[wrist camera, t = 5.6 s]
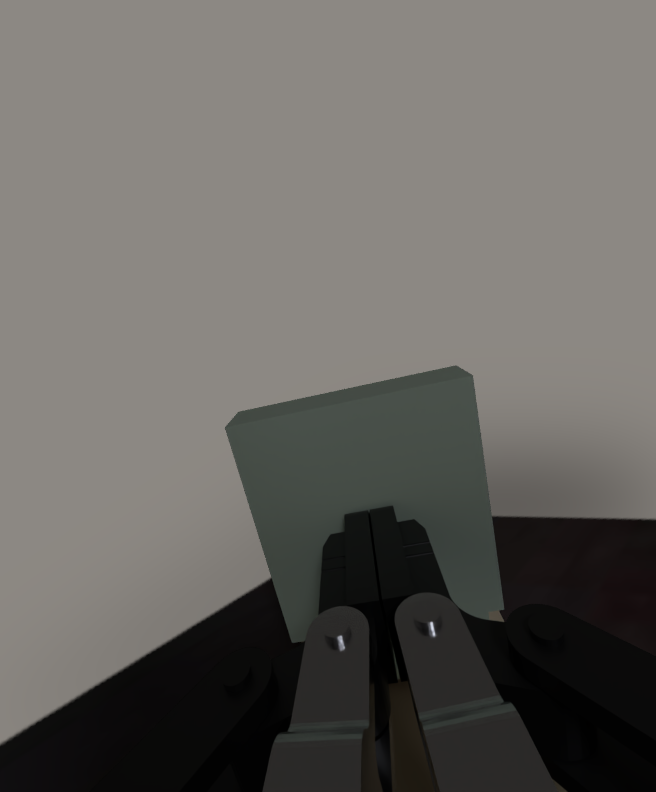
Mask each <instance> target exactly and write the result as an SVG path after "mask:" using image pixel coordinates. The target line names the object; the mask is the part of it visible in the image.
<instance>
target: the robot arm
mask: <svg viewBox="0 0 656 792" xmlns="http://www.w3.org/2000/svg"><path fill="white" fill-rule="evenodd" d="M370 516H371V521H370ZM370 516H369V512H368V510H365V511H359V512H354V513H349V514H345V515H344V519H345V532H340V533H334V534H330V536H329V537H328V539H327V541H326V542H325V544H324V545H323V552H322V567H321V572H322V573H321V581H320V596H319V611H318V616H317V617H316V618H315V619H314V620H313V622H312V623H311V625H310V626H309V628H308V631H307V635H306V640H305V641H304V642H303V643H301V644H300V645H299V646H297V647H296V648H294V649H292V650H290V651H288V652H286V653H284V654H282V655H280V656H278V657H276V658H274V659H271V660H270V657H269V656H268V654H267V653H266V652H265V651H263V650H262V649H260V648H256V647H247V648H242V649H239V650H236V651H234V652H232V653H230V654H229V655H227V656H226V657H225V658H223V659H222V660H221V661H220V662H219V663H218V664H217V665H216V666H215V667H214V668H213V669H212V670H211V671H210V672H209V673H208V674H207V675H206V676H205V677H204V678H203V679H202V680H201V681H200V682H199V683H198V684H197V685H196V686H195V687H194V688H193V689H192V690H191V691H190V692H189V693H188V694H187V695H186V696H185V697H184V698H183V699H182V700H181V701H180V702H179V703H178V704H177V705H176V706H175V707H174V708H173V709H172V710H171V711H170V712H169V713H168V714H167V715H166V716H165V717H164V718H163V719H162V720H161V721H160V722H159V723H158V724H157V725H156V726H155V727H154V728H153V729H152V730H151V731H150V732H149V733H148V734H147V735H146V736H145V737H144V738H143V739H142V740H141V741H140V742H139V743H138V744H137V745H136V746H135V747H134V748H133V749H132V750H131V751H130V752H129V753H128V754H127V755H126V756H125V757H124V758H123V759H122V760H121V761H120V762H119V763H118V764H117V765H116V766H115V767H114V768H113V769H112V770H111V771H110V772H109V773H108V774H107V775H106V776H105V777H104V778H103V779H102V780H101V781H100V782H99V783H98V784H97V785H96V786H95V787H94V788H93V789H92V790H91V791H90V792H396V779H395V760H394V742H393V724H392V718H391V701H390V693H389V685H388V684H391V683H398V678H397V671H396V665H395V658H396V662H397V667H398V671H399V675H400V680H401V682H404V681H408V684H409V689H410V693H411V698H412V702H413V707H414V711H415V716H416V720H417V724H418V728H419V732H420V736H421V740H422V744H423V748H424V752H425V756H426V760H427V764H428V768H429V772H430V776H431V780H432V784H433V788H434V792H558V790H557V788H556V786H555V784H554V782H553V780H554V781H555V782H557V783H558V784H559V785H560V786H561V787H563V788H564V789H565V790H566V791H567V792H656V656H654V655H652V654H650V653H648V652H646V651H644V650H642V649H640V648H638V647H636V646H634V645H632V644H630V643H627V642H625V641H623V640H621V639H619V638H617V637H615V636H613V635H611V634H609V633H607V632H605V631H603V630H601V629H599V628H597V627H595V626H593V625H591V624H589V623H587V622H585V621H583V620H581V619H579V618H577V617H575V616H573V615H571V614H569V613H567V612H565V611H563V610H560V609H558V608H555V607H552V606H548V605H543V604H529V605H524V606H521V607H519V608H517V609H515V610H514V611H513V612H512V613H511V614H510V615H509V617H508V619H507V622H501V621H493V620H486V619H481V618H478V617H475V616H472V615H470V614H468V613H466V612H465V611H463V610H462V609H460V608H459V607H458V606H457V605H456V604H455V603H454V602H453V600H452V599H451V597H450V595H449V592H448V589H447V587H446V584H445V581H444V578H443V576H442V573H441V570H440V568H439V565H438V562H437V559H436V557H435V554H434V551H433V548H432V546H431V543H430V540H429V538H428V535H427V532H426V529H425V528H424V527H423V526H422V525H421V524H419V523H418V522H417V521H416V520H415V519H411V520H406V521H400V522H397V519H396V515H395V511H394V507H393V505H392V506H386V507H381V508H375V509H370ZM371 523H372V525H371ZM393 649H394V652H393ZM394 654H395V658H394ZM552 779H553V780H552Z"/></svg>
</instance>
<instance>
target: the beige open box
mask: <svg viewBox="0 0 656 792" xmlns="http://www.w3.org/2000/svg"><path fill="white" fill-rule="evenodd" d="M488 613H489V620H493V621H501V622H504V620H503V618H502V616H501V614H500V612H499V610H498V611H492V612H488ZM303 642H304V641H302V643H303ZM388 685H389V693H390V701H391V718H392V724H393V742H394V760H395V779H396V792H434V788H433V784H432V780H431V776H430V772H429V768H428V764H427V760H426V756H425V752H424V748H423V744H422V740H421V736H420V732H419V728H418V724H417V720H416V716H415V711H414V707H413V702H412V698H411V693H410V689H409V684H408V681H404V682H401V680H400V679H398V683H391V684H388ZM552 780H553V779H552ZM553 782H554V784H555V786H556V788H557V790H558V792H567V791H566V790H565V789H564V788H563V787H561V786H560V785H559V784H558V783H557V782H555V781H554V780H553Z"/></svg>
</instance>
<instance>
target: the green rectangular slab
mask: <svg viewBox="0 0 656 792" xmlns="http://www.w3.org/2000/svg"><path fill="white" fill-rule="evenodd" d="M225 430H226V433H227V436H228V439H229V442H230V445H231V449H232V452H233V455H234V458H235V462H236V464H237V468H238V471H239V474H240V478H241V481H242V484H243V487H244V491H245V494H246V496H247V500H248V503H249V506H250V510H251V513H252V516H253V519H254V523H255V526H256V529H257V532H258V535H259V539H260V542H261V545H262V548H263V551H264V555H265V558H266V561H267V564H268V568H269V570H270V574H271V577H272V580H273V584H274V587H275V590H276V593H277V596H278V600H279V603H280V606H281V609H282V612H283V616H284V619H285V622H286V625H287V628H288V632H289V635H290V638H291V641H292V643H296V642H302V641H305V640H306V635H307V631H308V628H309V626H310V625H311V623H312V622H313V620H314V619H315V618H316V617H317V616H318V611H319V596H320V581H321V573H322V572H321V567H322V552H323V545H324V544H325V542H326V541H327V539H328V537H329V536H330V534H334V533H340V532H345V519H344V515H345V514H349V513H354V512H359V511H365V510H368V512H369V516H370V509H375V508H381V507H386V506H392V505H393V507H394V511H395V515H396V519H397V522H400V521H406V520H411V519H415V520H416V521H417V522H418V523H419V524H421V525H422V526H423V527H424V528H425V529H426V532H427V535H428V538H429V540H430V543H431V546H432V548H433V551H434V554H435V557H436V559H437V562H438V565H439V568H440V570H441V573H442V576H443V578H444V581H445V584H446V587H447V589H448V592H449V595H450V597H451V599H452V600H453V602H454V603H455V604H456V605H457V606H458V607H459V608H460V609H462V610H463V611H465V612H466V613H468V614H470V615H472V616H475V617H478V618H481V619H486V620H489V613H488V612H492V611H498V610H504V604H503V597H502V589H501V582H500V574H499V567H498V559H497V552H496V545H495V537H494V530H493V522H492V515H491V507H490V500H489V493H488V485H487V477H486V470H485V463H484V455H483V448H482V440H481V433H480V425H479V418H478V411H477V403H476V395H475V389H474V382H473V375H471V374H470V373H468V372H466V371H464V370H463V369H461V368H459V367H458V366H451V367H447V368H442V369H438V370H433V371H428V372H423V373H418V374H414V375H409V376H405V377H400V378H395V379H390V380H386V381H381V382H376V383H372V384H367V385H362V386H358V387H353V388H348V389H344V390H339V391H334V392H329V393H325V394H320V395H315V396H311V397H306V398H302V399H297V400H292V401H287V402H283V403H278V404H274V405H268V406H264V407H259V408H255V409H250V410H245V411H241V412H238V413H237V414H236V415H235V416H234V418H233V419H232V420H231V421H230V422H229V423H228V425H227V426H226V427H225ZM370 521H371V516H370ZM371 525H372V523H371ZM393 652H394V649H393ZM394 658H395V654H394ZM395 665H396V671H397V678H398V679H400V675H399V671H398V667H397V662H396V658H395Z"/></svg>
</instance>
